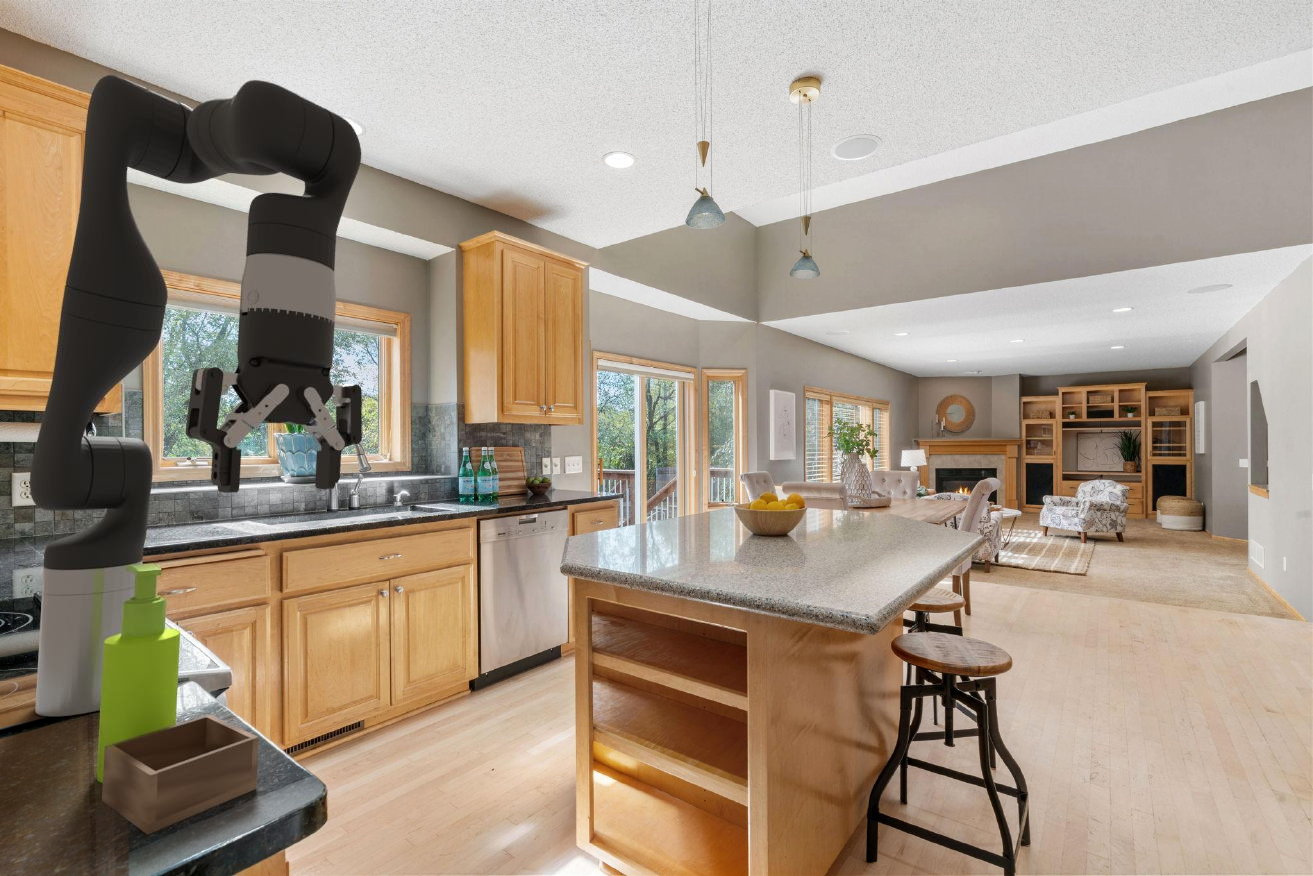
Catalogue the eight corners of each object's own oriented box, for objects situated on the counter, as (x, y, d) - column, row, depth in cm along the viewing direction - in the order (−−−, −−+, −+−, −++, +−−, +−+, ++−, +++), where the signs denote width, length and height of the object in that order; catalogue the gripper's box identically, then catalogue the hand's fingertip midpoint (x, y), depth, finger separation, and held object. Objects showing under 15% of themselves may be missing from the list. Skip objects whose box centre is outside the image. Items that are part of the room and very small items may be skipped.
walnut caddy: (101, 800, 55) (104, 746, 56) (207, 762, 63) (209, 714, 63) (147, 834, 51) (150, 775, 51) (256, 788, 58) (258, 737, 58)
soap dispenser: (163, 746, 66) (172, 558, 66) (181, 767, 61) (190, 566, 62) (89, 766, 61) (100, 565, 62) (103, 791, 57) (114, 574, 58)
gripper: (338, 331, 64) (330, 486, 64) (178, 299, 52) (167, 490, 52) (383, 326, 61) (375, 490, 60) (223, 291, 48) (211, 496, 48)
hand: (279, 490), depth 56 cm, fingers open, 8 cm apart
